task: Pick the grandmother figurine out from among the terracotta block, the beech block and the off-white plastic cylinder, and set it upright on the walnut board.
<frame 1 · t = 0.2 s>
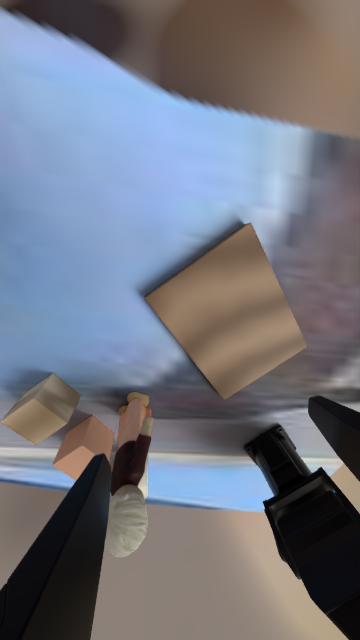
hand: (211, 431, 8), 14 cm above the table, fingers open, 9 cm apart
terracotta block: (91, 432, 25), on the table
beech block: (54, 393, 22), on the table
walnut board: (231, 321, 22), on the table
grandmother figurine: (136, 401, 24), on the table
off-white cylinder: (133, 456, 27), on the table
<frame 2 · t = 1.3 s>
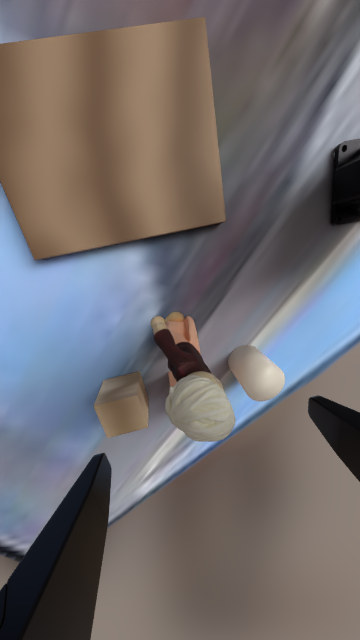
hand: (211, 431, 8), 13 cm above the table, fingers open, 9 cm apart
beech block: (127, 389, 22), on the table
walnut board: (113, 159, 15), on the table
grandmother figurine: (176, 327, 21), on the table
off-white cylinder: (244, 360, 23), on the table
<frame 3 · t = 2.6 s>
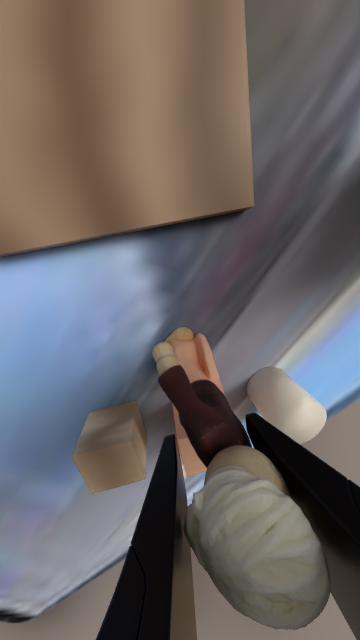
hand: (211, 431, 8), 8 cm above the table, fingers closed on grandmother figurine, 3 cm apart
terracotta block: (196, 411, 18), on the table
beech block: (119, 422, 17), on the table
walnut board: (98, 114, 11), on the table
grandmother figurine: (183, 346, 16), on the table, touching gripper
off-white cylinder: (266, 385, 18), on the table
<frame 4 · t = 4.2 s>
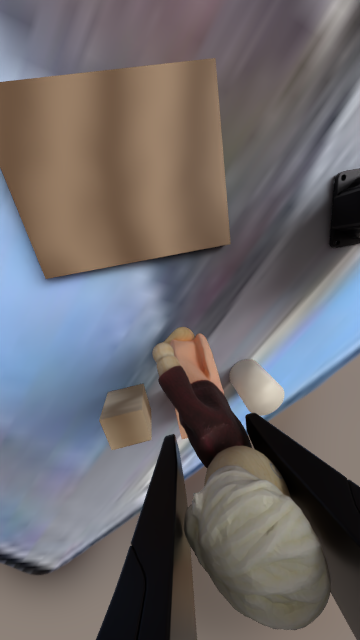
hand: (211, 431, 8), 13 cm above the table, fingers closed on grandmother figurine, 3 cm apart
beech block: (130, 401, 23), on the table
walnut board: (124, 184, 16), on the table
grandmother figurine: (183, 346, 16), point 5 cm above the table, touching gripper
off-white cylinder: (245, 373, 24), on the table
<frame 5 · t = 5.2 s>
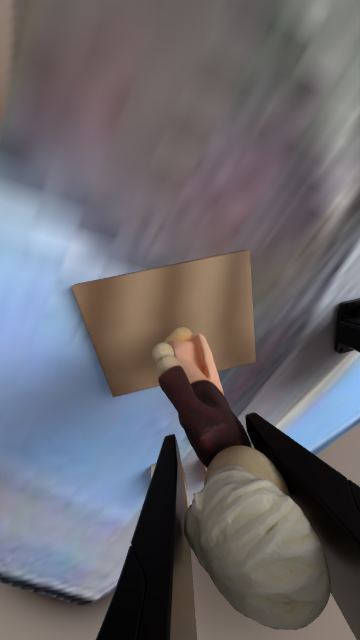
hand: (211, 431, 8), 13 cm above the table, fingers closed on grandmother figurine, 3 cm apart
beech block: (168, 470, 27), on the table
walnut board: (174, 324, 20), on the table
grandmother figurine: (182, 346, 16), point 5 cm above the table, touching gripper
when the fingers open (11 cm above the table, at t = 5.9 s): grandmother figurine drops 1 cm, resting on walnut board.
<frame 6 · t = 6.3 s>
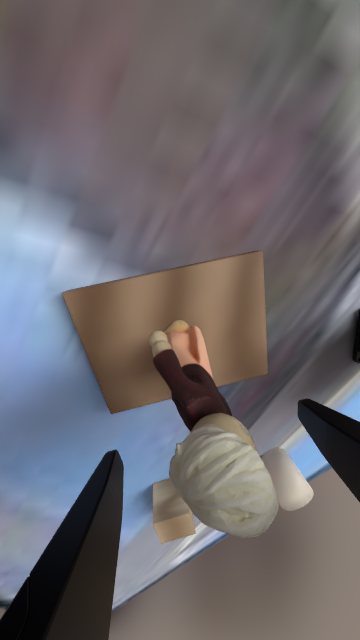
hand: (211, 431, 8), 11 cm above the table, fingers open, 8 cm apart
beech block: (171, 488, 25), on the table
walnut board: (178, 334, 18), on the table
grandmother figurine: (179, 337, 17), point 1 cm above the table, touching walnut board
off-white cylinder: (273, 459, 26), on the table
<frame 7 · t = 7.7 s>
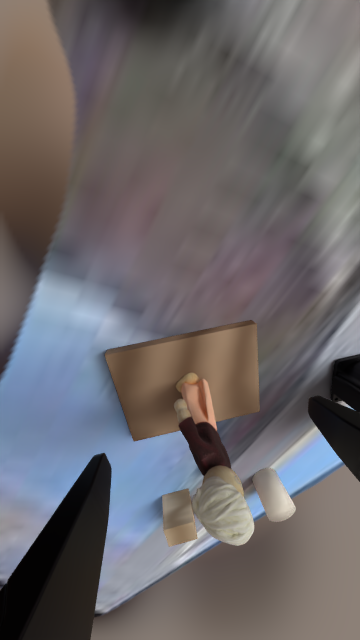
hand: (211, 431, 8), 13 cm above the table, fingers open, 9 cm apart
beech block: (177, 499, 30), on the table
walnut board: (189, 380, 23), on the table
grandmother figurine: (190, 384, 22), point 1 cm above the table, touching walnut board
off-white cylinder: (264, 477, 31), on the table
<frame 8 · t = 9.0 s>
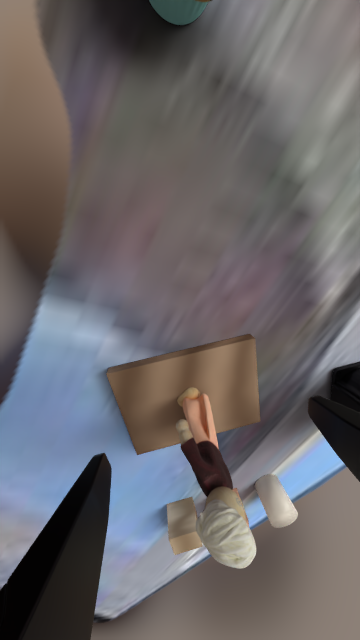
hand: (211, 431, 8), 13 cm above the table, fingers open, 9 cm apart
beech block: (181, 507, 30), on the table
walnut board: (190, 393, 24), on the table
grandmother figurine: (191, 398, 23), point 1 cm above the table, touching walnut board
off-white cylinder: (266, 483, 31), on the table
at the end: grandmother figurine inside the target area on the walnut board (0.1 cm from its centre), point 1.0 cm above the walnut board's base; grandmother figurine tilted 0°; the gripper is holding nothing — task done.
